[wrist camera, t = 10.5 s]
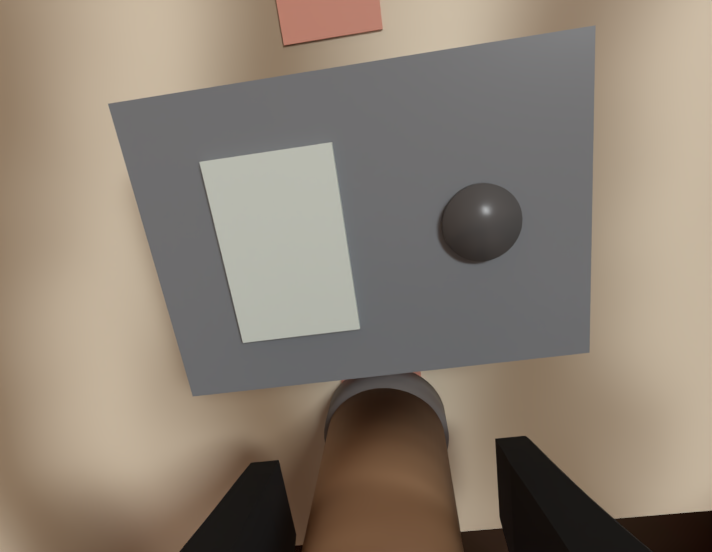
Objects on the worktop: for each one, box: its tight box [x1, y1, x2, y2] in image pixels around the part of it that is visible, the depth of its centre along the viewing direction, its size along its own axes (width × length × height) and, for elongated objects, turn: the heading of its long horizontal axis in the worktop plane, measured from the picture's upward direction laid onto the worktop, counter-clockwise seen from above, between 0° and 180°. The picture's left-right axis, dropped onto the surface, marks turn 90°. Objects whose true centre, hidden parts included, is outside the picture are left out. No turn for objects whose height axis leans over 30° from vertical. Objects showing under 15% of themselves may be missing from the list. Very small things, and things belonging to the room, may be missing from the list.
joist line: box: [276, 0, 421, 382], centre depth 10 cm, size 2×15×1 cm, turn 8°
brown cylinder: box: [301, 372, 464, 552], centre depth 8 cm, size 3×3×6 cm
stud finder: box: [108, 25, 596, 396], centre depth 8 cm, size 7×5×3 cm
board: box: [0, 0, 712, 552], centre depth 11 cm, size 24×15×1 cm, turn 98°
